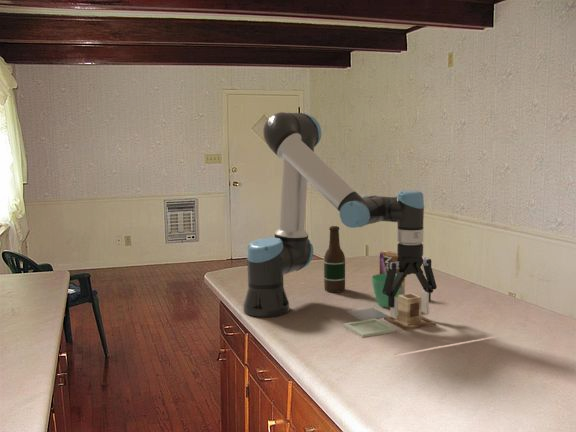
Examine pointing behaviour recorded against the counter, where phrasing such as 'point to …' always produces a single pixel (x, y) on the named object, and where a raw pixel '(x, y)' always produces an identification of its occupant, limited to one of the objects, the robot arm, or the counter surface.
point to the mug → (381, 289)
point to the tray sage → (369, 327)
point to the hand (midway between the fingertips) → (409, 315)
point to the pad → (367, 314)
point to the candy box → (384, 260)
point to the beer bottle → (334, 264)
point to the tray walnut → (423, 323)
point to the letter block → (409, 309)
